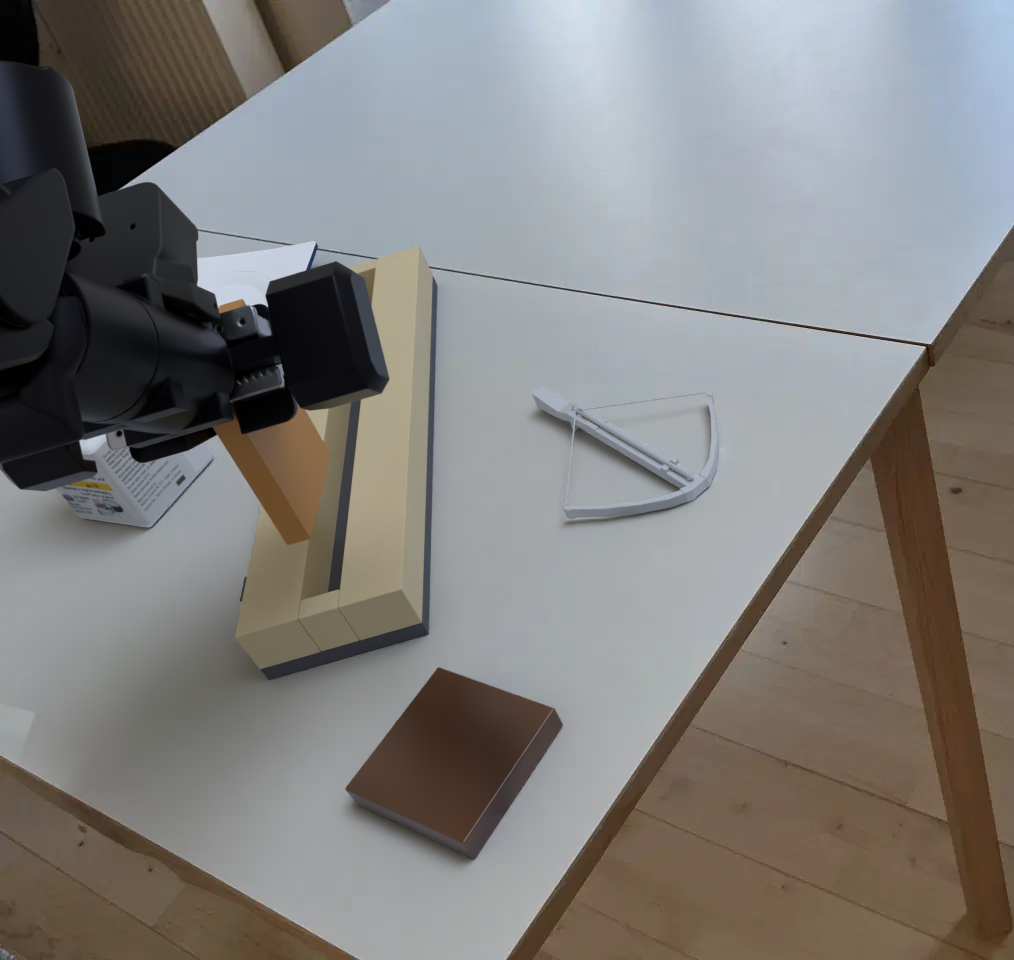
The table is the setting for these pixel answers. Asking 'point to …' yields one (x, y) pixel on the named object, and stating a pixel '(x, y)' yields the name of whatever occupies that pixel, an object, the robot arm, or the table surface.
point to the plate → (252, 272)
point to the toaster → (359, 504)
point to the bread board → (455, 760)
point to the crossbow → (632, 456)
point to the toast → (280, 466)
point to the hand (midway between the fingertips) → (264, 401)
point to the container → (132, 483)
